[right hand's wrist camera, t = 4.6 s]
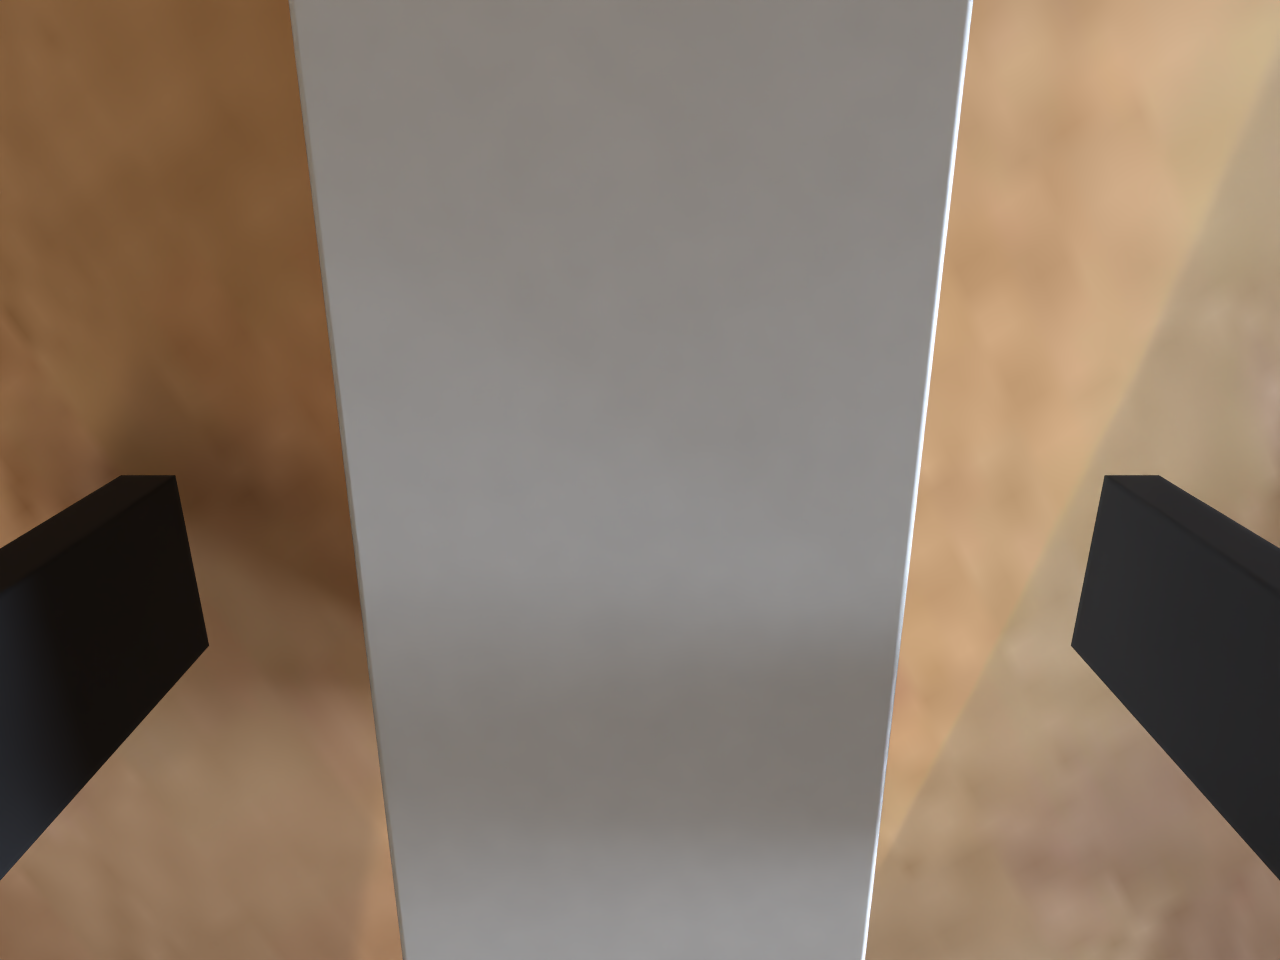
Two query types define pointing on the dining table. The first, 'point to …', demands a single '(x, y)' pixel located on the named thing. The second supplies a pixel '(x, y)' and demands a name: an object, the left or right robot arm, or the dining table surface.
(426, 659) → the bar
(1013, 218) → the dining table surface
